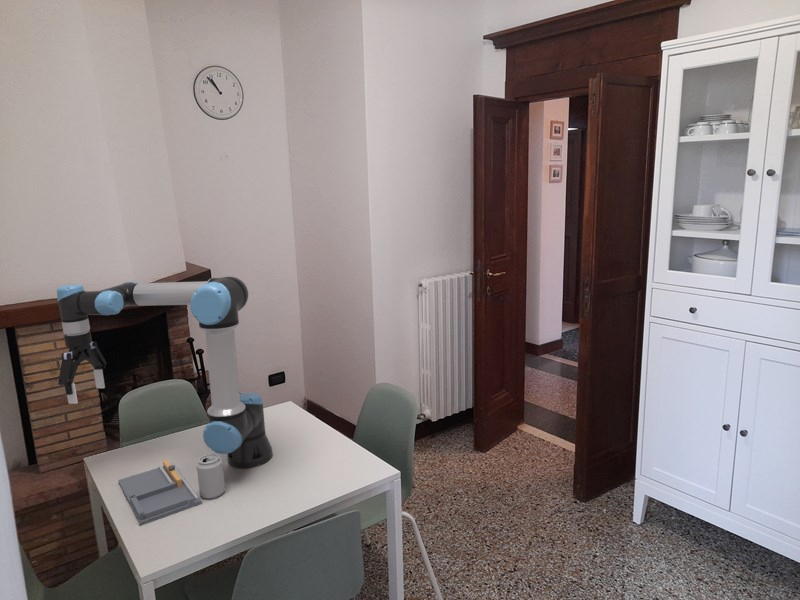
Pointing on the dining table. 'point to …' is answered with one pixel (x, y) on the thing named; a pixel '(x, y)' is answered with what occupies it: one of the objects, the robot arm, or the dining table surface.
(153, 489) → the housing
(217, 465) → the can
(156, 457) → the dining table surface
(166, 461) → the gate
